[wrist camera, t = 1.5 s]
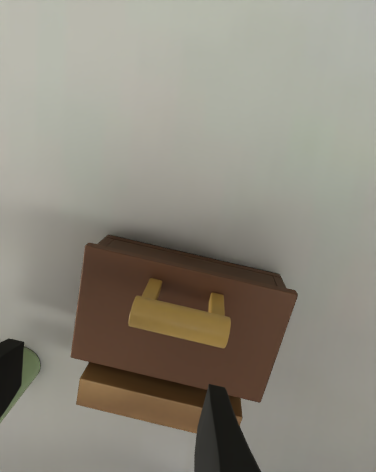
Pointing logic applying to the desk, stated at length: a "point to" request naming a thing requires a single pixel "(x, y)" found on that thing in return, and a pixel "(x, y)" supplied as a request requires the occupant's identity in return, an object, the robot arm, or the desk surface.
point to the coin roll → (25, 376)
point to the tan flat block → (144, 397)
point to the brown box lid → (179, 321)
